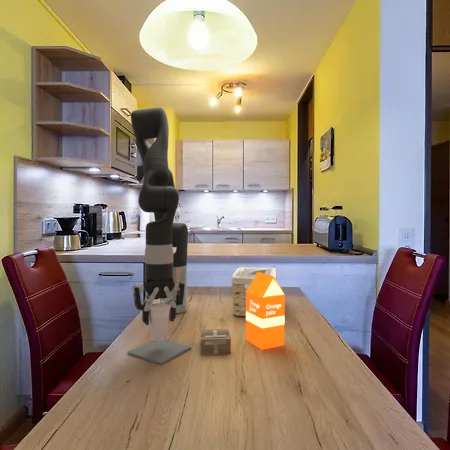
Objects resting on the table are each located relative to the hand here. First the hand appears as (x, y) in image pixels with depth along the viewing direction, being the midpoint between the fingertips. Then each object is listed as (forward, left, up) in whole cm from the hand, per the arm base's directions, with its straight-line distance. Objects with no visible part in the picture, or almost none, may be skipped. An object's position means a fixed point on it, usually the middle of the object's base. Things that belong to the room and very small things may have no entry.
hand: (159, 322), depth 98 cm
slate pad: (0, 0, -8) cm, 8 cm away
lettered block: (+11, +10, -8) cm, 17 cm away
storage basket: (+3, +51, -8) cm, 52 cm away
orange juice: (+21, +22, -8) cm, 31 cm away
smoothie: (0, 0, -5) cm, 5 cm away
